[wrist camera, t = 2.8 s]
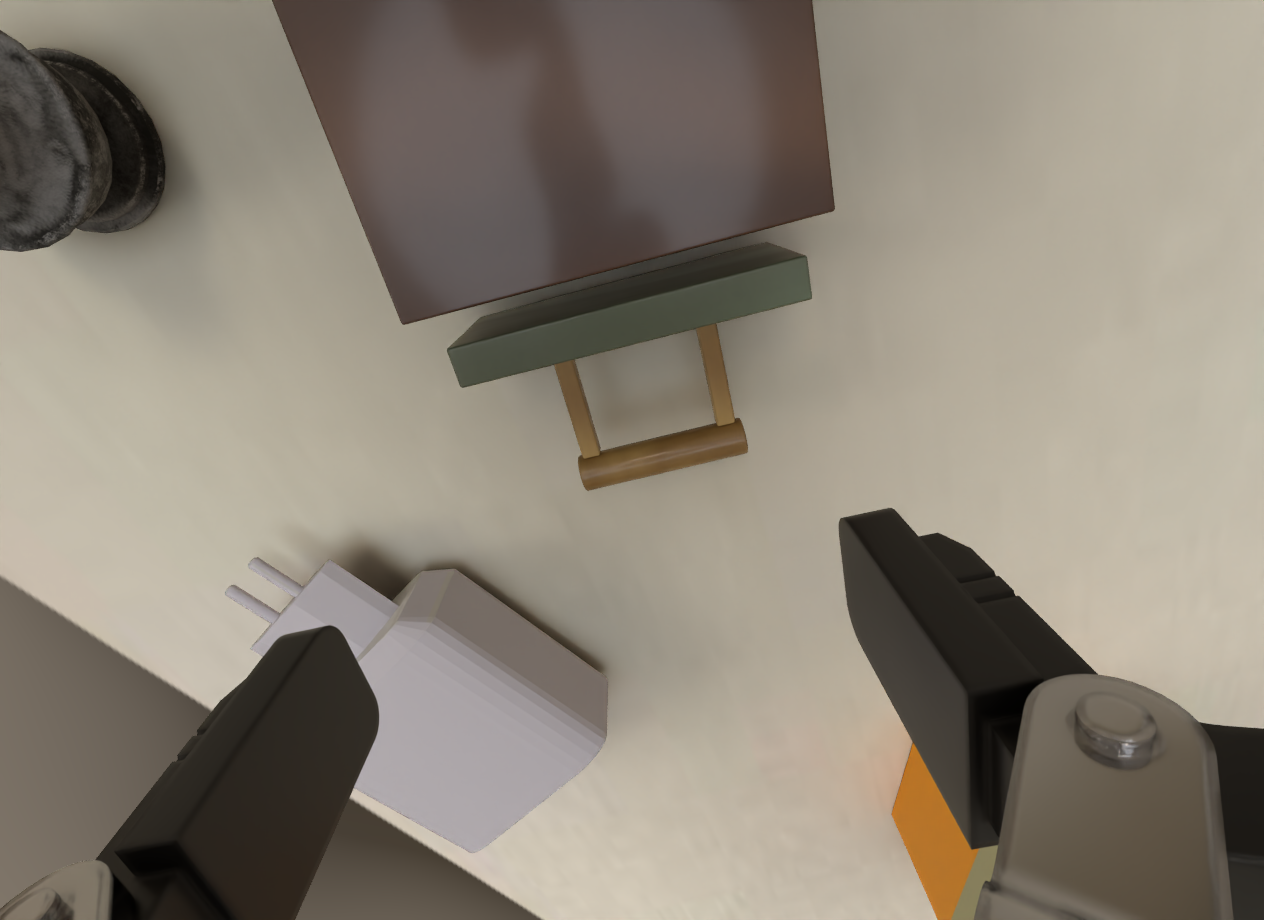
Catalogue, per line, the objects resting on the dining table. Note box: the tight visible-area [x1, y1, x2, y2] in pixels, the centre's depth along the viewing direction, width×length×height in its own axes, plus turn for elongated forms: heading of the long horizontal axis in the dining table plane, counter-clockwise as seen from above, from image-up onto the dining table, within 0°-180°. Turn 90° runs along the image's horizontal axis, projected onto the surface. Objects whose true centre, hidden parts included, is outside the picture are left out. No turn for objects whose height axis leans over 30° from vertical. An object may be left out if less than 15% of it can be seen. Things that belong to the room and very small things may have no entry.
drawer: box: [447, 242, 812, 491], centre depth 18 cm, size 16×10×5 cm, turn 14°
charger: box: [225, 557, 608, 853], centre depth 26 cm, size 5×9×15 cm
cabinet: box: [272, 0, 835, 325], centre depth 16 cm, size 12×11×6 cm
